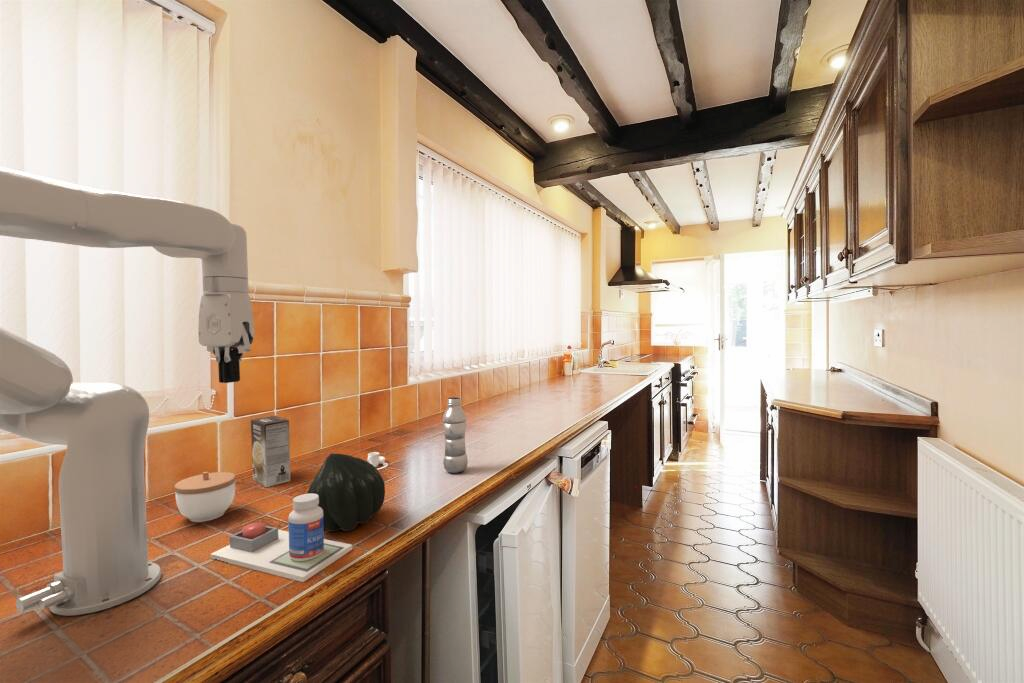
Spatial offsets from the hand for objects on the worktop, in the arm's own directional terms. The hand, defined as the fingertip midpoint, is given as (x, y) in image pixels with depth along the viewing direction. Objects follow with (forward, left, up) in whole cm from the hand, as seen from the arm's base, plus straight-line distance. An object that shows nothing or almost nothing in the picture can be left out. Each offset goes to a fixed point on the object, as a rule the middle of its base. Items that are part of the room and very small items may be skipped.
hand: (229, 381), depth 89 cm
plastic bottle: (+45, -25, -29) cm, 59 cm away
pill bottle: (-4, -23, -28) cm, 37 cm away
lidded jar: (+2, +11, -29) cm, 31 cm away
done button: (-4, -11, -27) cm, 30 cm away
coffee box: (+23, +17, -29) cm, 41 cm away
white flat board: (-4, -18, -29) cm, 34 cm away
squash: (+9, -20, -29) cm, 37 cm away
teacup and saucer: (+44, -3, -30) cm, 53 cm away
